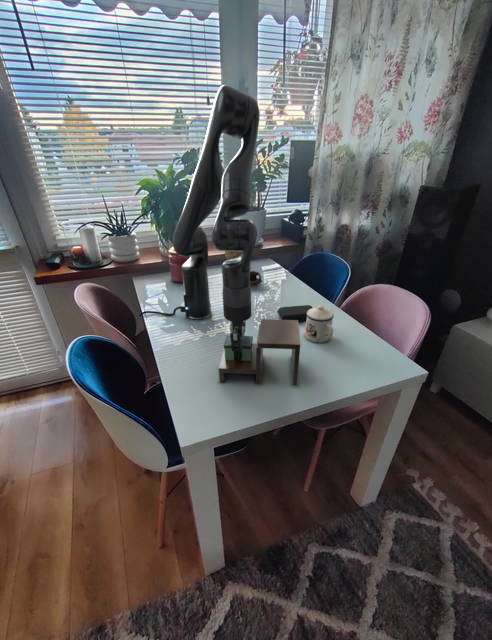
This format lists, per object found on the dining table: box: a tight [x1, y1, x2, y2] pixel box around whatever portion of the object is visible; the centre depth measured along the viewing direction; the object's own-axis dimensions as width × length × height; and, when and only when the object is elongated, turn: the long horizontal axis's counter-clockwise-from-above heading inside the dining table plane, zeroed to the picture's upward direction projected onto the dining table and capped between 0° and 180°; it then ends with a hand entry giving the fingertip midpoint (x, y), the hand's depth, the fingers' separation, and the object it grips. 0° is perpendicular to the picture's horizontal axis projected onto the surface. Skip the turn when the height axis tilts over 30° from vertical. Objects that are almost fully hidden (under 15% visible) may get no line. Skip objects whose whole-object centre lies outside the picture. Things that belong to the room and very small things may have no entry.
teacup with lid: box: [304, 304, 335, 343], centre depth 110 cm, size 12×9×12 cm
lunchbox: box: [223, 334, 254, 361], centre depth 94 cm, size 8×6×5 cm
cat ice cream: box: [224, 251, 239, 261], centre depth 178 cm, size 9×8×18 cm
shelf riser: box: [218, 318, 301, 386], centre depth 94 cm, size 22×14×14 cm, turn 86°
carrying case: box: [277, 304, 314, 322], centre depth 126 cm, size 11×3×15 cm
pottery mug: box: [250, 270, 263, 289], centre depth 154 cm, size 12×10×8 cm
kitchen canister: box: [167, 246, 190, 283], centre depth 159 cm, size 13×13×18 cm
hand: (239, 353), depth 95 cm, fingers closed on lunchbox, 5 cm apart
